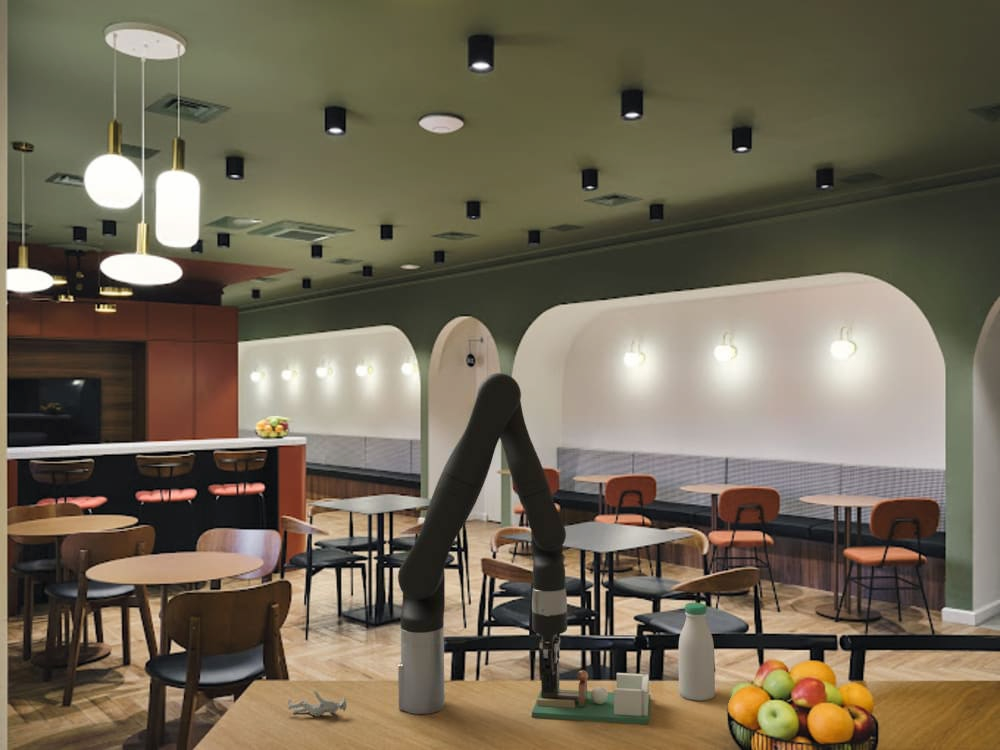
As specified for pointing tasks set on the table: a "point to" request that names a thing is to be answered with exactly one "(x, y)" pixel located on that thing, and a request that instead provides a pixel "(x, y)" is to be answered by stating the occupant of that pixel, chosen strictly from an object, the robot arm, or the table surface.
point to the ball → (599, 695)
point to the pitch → (584, 710)
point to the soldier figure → (318, 706)
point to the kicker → (567, 696)
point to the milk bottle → (696, 656)
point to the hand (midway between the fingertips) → (550, 687)
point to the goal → (631, 694)
